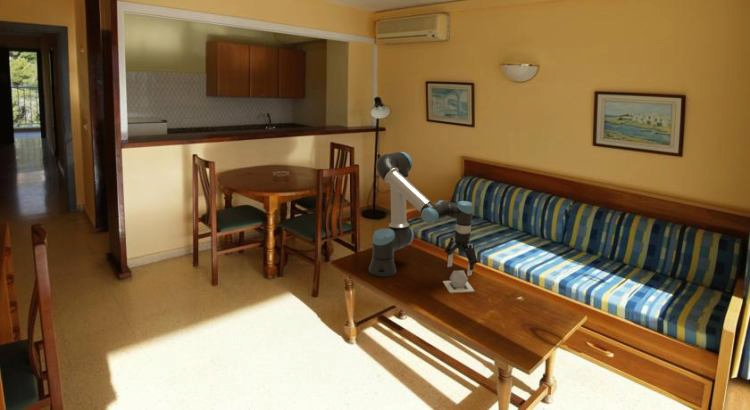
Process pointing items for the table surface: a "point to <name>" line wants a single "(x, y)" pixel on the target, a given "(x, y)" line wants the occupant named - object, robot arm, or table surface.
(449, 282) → the board
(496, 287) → the table surface
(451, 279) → the die
